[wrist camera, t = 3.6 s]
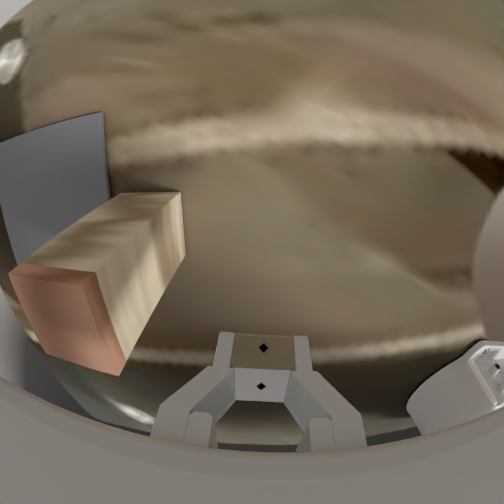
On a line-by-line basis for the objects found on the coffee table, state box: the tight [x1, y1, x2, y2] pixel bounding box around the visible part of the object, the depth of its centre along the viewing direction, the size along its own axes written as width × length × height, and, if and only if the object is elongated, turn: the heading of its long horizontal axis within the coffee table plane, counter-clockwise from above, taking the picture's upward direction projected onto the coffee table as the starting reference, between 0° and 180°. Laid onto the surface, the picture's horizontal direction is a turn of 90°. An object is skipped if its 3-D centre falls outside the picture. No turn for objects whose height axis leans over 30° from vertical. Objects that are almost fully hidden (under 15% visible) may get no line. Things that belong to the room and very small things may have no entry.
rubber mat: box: [0, 112, 111, 265], centre depth 21 cm, size 16×18×1 cm
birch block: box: [8, 192, 186, 376], centre depth 15 cm, size 5×5×12 cm
